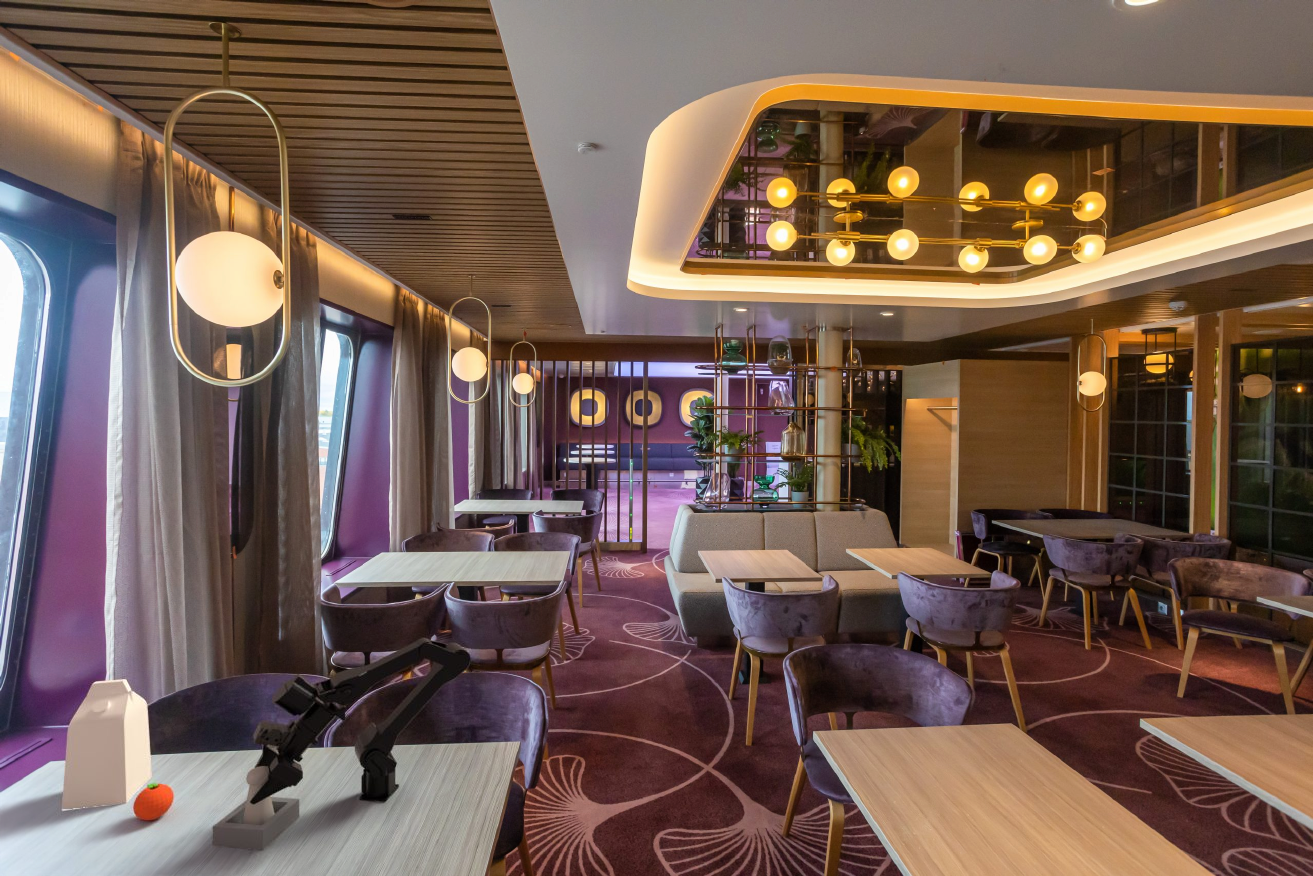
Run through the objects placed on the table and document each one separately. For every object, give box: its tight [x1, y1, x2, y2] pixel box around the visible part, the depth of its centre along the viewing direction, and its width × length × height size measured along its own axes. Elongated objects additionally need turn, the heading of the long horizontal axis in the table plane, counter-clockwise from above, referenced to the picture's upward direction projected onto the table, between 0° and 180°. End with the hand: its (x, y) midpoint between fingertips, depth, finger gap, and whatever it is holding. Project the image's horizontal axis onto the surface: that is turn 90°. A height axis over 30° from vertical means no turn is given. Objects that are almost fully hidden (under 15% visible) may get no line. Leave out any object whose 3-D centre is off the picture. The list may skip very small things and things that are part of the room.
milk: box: [61, 678, 153, 810], centre depth 146 cm, size 12×12×26 cm
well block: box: [212, 796, 300, 851], centre depth 133 cm, size 11×11×4 cm
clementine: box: [132, 782, 175, 821], centre depth 138 cm, size 8×7×7 cm
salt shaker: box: [242, 766, 275, 825], centre depth 133 cm, size 6×6×13 cm
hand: (249, 792), depth 132 cm, fingers open, 9 cm apart
